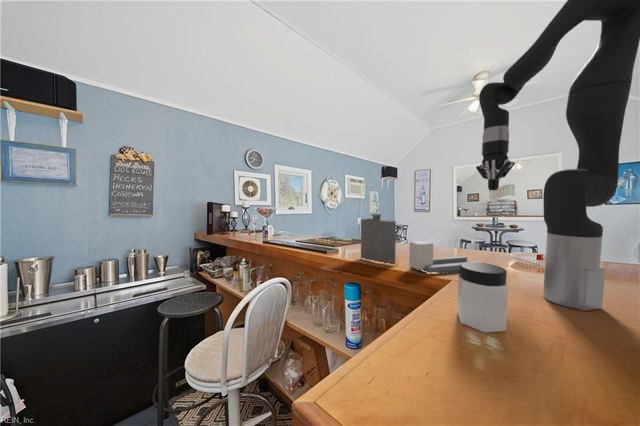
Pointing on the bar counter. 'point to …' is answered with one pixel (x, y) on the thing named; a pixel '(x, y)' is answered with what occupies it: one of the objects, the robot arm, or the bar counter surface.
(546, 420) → the bar counter surface
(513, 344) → the bar counter surface
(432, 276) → the bar counter surface
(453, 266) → the chute
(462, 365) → the bar counter surface
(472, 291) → the jar
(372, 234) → the hip flask
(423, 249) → the block
